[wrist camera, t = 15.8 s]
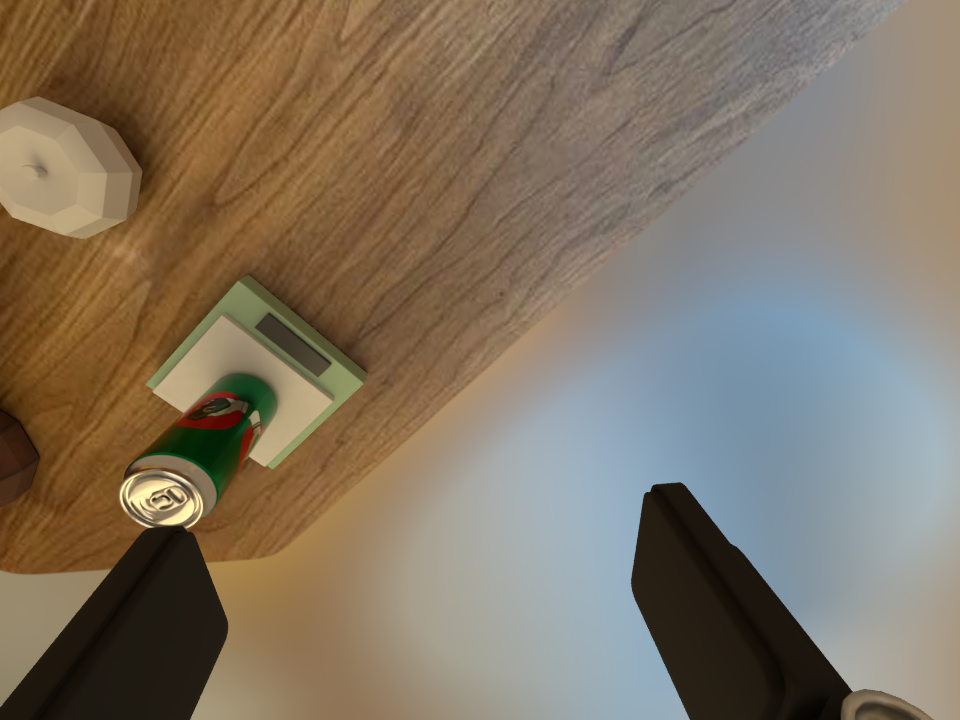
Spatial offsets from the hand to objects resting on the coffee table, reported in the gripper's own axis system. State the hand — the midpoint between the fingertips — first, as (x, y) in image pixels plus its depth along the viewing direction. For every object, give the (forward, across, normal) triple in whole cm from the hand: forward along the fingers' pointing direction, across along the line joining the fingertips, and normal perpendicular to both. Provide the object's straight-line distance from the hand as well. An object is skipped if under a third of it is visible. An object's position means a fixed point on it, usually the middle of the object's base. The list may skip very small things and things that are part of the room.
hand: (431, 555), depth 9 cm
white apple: (+28, +22, -8) cm, 37 cm away
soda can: (+26, +16, +9) cm, 32 cm away
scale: (+28, +15, +8) cm, 33 cm away
